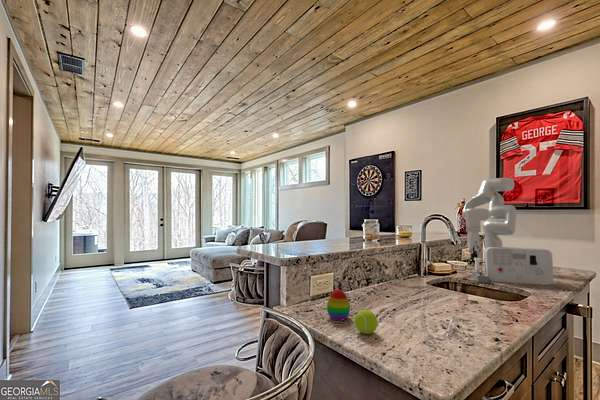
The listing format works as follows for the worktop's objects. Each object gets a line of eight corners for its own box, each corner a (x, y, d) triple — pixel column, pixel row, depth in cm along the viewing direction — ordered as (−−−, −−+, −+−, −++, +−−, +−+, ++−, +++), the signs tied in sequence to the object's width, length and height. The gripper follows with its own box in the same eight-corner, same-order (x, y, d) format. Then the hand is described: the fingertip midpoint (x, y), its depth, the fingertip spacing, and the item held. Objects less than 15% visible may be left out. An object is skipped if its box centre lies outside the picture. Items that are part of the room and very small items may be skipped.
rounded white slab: (488, 282, 152) (487, 248, 153) (485, 279, 159) (484, 246, 160) (556, 286, 142) (554, 250, 142) (548, 283, 149) (547, 248, 150)
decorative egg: (322, 318, 102) (322, 290, 103) (335, 312, 108) (334, 285, 109) (342, 323, 97) (341, 294, 97) (354, 317, 103) (353, 289, 104)
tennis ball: (365, 326, 94) (365, 305, 95) (382, 334, 88) (381, 311, 89) (350, 331, 91) (349, 309, 91) (366, 339, 85) (365, 316, 85)
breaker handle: (474, 272, 164) (474, 257, 164) (479, 273, 163) (478, 257, 163) (475, 273, 161) (475, 258, 161) (480, 274, 160) (480, 258, 161)
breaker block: (471, 276, 165) (471, 270, 165) (481, 276, 164) (481, 270, 164) (477, 282, 151) (477, 275, 151) (488, 283, 150) (488, 276, 150)
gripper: (463, 228, 178) (464, 258, 177) (468, 229, 164) (469, 262, 163) (477, 228, 176) (478, 258, 175) (483, 230, 162) (484, 262, 161)
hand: (474, 260), depth 169 cm, fingers closed
